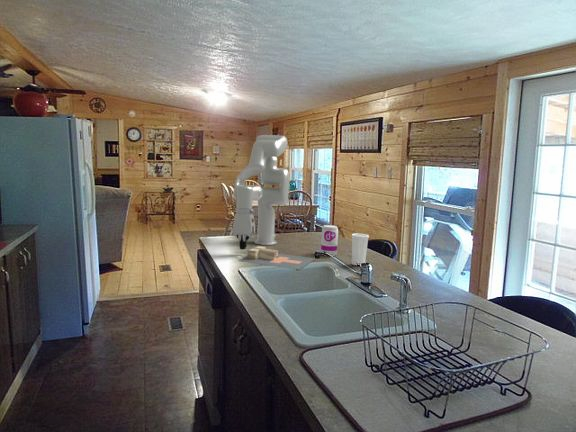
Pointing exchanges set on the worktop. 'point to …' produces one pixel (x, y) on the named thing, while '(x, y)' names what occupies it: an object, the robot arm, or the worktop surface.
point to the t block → (262, 253)
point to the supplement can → (329, 239)
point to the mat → (283, 261)
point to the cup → (359, 248)
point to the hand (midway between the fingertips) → (242, 248)
